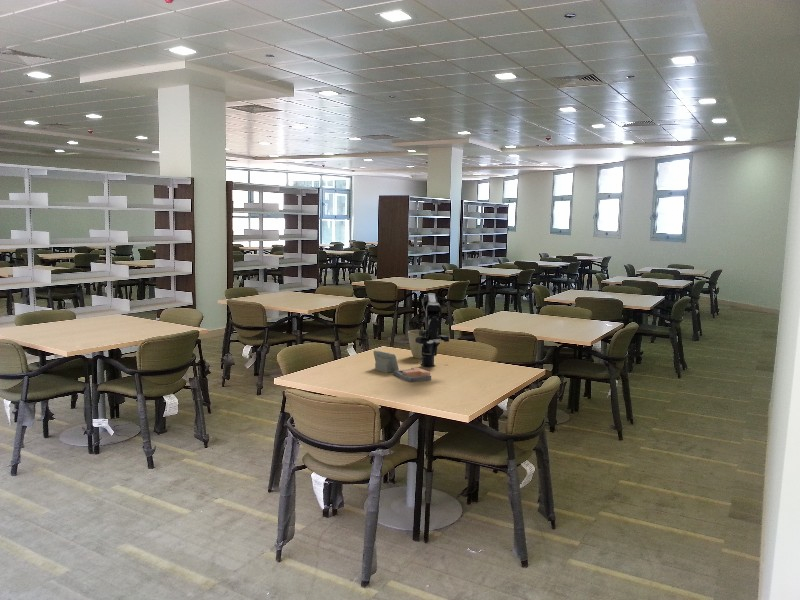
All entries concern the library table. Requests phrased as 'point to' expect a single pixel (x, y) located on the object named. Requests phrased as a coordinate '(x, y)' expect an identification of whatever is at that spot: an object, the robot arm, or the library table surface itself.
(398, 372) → the fence
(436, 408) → the library table surface
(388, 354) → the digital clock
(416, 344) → the plant pot
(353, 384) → the library table surface
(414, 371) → the t block
